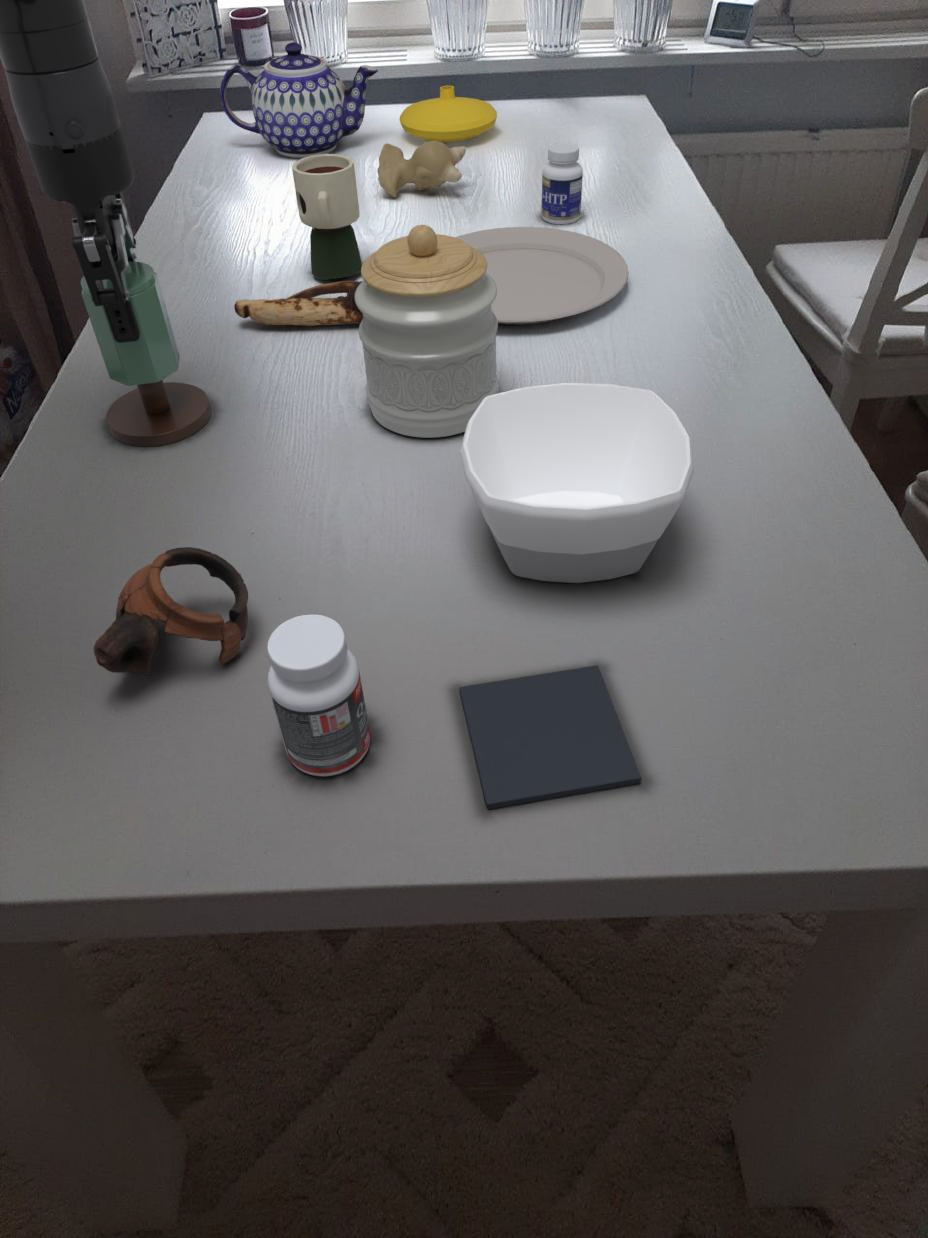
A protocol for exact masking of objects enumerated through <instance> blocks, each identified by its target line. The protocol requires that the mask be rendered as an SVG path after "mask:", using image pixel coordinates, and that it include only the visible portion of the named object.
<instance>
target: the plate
mask: <svg viewBox="0 0 928 1238" xmlns="http://www.w3.org/2000/svg"><path fill="white" fill-rule="evenodd" d="M455 238H458V239H460V240H462V241H464V242H465V243H466V244H468V245H469V246H471V247H473V248H475V249H477V250H478V251H480V252H481V253H482V254H483V255H484V256H485V258H486V260H487V270H486V273H487V274H489V275H490V276H491V277H492V278H493V280H494V281H495V283H496V286H497V295H496V298H495V300H494V302H493V303H492V304H491V306H492V312H493V313H494V314H495V316H496V318H497V321H498V325H517V326H518V325H532V324H533V325H534V324H541V323H547V322H553V321H557V320H561V319H565V318H567V317H570V316H575V315H578V314H581V313H584V312H588V311H590V310H593V309H595V308H598V307H600V306H602V305H603V304H605V303H607V302H608V301H610V300H611V299H613V298H615V297H616V296H617V295H618V294H619V293H620V292H621V291H622V290H623V289H624V287H625V286H626V284H627V281H628V279H629V267H628V264H627V262H626V259H625V258H624V257H623V256H622V254H621V253H620V252H618V250H616V249H615V248H614V247H612V246H611V245H609V244H607V243H606V242H603V241H602V240H599V239H597V238H595V237H592V236H589V235H587V234H583V233H579V232H576V231H571V230H567V229H559V228H551V227H541V226H508V227H499V228H498V227H497V228H490V229H483V230H477V231H472V232H469V233H465V234H462V235H458V236H455Z"/></svg>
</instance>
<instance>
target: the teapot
mask: <svg viewBox="0 0 928 1238" xmlns="http://www.w3.org/2000/svg"><path fill="white" fill-rule="evenodd" d="M302 49H303V46H302V45H301V44H300V43H298V42H295V41H294V42H289V43H287V44H286V45H285V46H284V51H285V52H286V54H284V55H281V56H278V57H274V58H272V59H271V60H269V61H267V62H266V63H265V64H264V65H263V70H262V71H261V72H260V74H259V75H257V76H255V75H254V74H253V73H251V72H250V71H248V69H246V68H245V67H243V66H241V65H240V64H234V65H231V66H230V67H229V68H228V69H227V70H226V71H225V73H224V75H223V77H222V80H221V82H220V87H219V95H220V96H219V98H220V103H221V106H222V109H223V111H224V113H225V115H226V116H227V118H228V119H229V120H230V121H231V122H232V123H233V124H234V125H236V126H237V127H239V128H241V129H242V130H246V131H249V132H251V133H255V134H258V135H260V136H261V137H262V139H263V140H265V141H266V142H267V143H268V144H269V145H270V146H272V147H273V148H274V149H275V151H276V152H277V153H278V154H279V155H280V156H283V157H287V158H295V159H302V158H305V157H309V156H313V155H320V154H330V153H331V152H333V151H335V149H336V148H337V143H339V142H340V141H341V140H342V139H343V138H344V137H348V136H351V135H354V134H355V133H356V132H357V131H359V129H360V127H361V126H362V124H363V122H364V117H365V111H366V96H367V95H366V93H367V85H368V81H369V79H370V78H371V77H373V76H374V75H375V74H376V73H378V72H379V70H378V69H377V68H375V66H371V65H367V64H363V65H360V66H359V68H358V69H357V71H356V73H355V75H354V77H353V82H352V85H351V87H350V88H348V89H346V86H345V84H344V82H343V80H342V78H341V77H340V76H339V75H338V73H336V72H335V71H334V70H332V69H331V68H330V67H329V66H328V62H327V60H326V59H325V58H323V57H320V56H317V55H311V54H305V53H302ZM234 74H239V75H241V76H242V77H243V78H244V81H245V82H246V84H247V87H248V89H249V91H250V93H251V105H252V113H253V119H254V122H247V121H244V120H242V119H241V118H239V117H238V116H237V115H236V114H235V113H234V112H233V111H232V109H231V108H230V106H229V103H228V99H227V88H228V85H229V83H230V80H231V78H232V77H233V76H234Z"/></svg>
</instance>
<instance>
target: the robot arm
mask: <svg viewBox="0 0 928 1238" xmlns="http://www.w3.org/2000/svg"><path fill="white" fill-rule="evenodd" d="M87 11H88V10H87V8H86V4H85V0H0V60H1V64H2V66H3V68H4V74H5V77H6V80H7V86H8V90H9V95H10V99H11V103H12V106H13V110H14V113H15V116H16V117H17V118H16V119H17V121H18V124H19V128H20V130H21V133H22V136H23V139H24V142H25V145H26V147H27V151H28V154H29V157H30V159H31V163H32V165H33V168H34V171H35V175H36V177H37V181H38V183H39V186H40V189H41V191H42V193H43V194H44V195H45V196H46V197H48V198H50V199H51V200H54V201H58V202H63V201H64V202H66V203H68V204H70V205H72V206H73V208H74V214H75V218H72V219H71V225H72V229H73V234H74V236H72V243H71V244H72V249H74V252H75V254H76V257H77V260H78V263H79V265H80V268H81V272H82V273H83V276H84V277H85V279H86V282H87V285H88V288H89V291H90V293H91V296H92V301H93V302H94V304H95V306H102V305H103V306H104V309H105V312H106V315H107V318H108V321H109V324H110V328H111V331H112V334H113V337H114V339H115V341H116V342H119V343H124V342H132V341H137V340H138V339H139V336H140V331H139V328H138V324H137V321H136V318H135V315H134V311H133V308H132V305H131V301H130V298H129V296H130V292H129V290H128V287H127V283H126V278H125V273H126V272H128V270H129V263H128V261H135V262H137V260H138V256H137V252H135V250H134V249H136V248H137V240H136V238H135V236H134V232H133V229H132V225H131V221H130V217H129V214H128V209H127V206H126V202H125V198H124V194H123V192H125V191H126V190H127V189H128V188H130V187H131V186H132V185H133V183H134V181H135V170H134V167H133V164H132V160H131V157H130V152H129V149H128V146H127V141H126V137H125V134H124V131H123V125H122V124H121V123H122V122H121V120H120V115H119V112H118V108H117V105H116V101H115V97H114V93H113V90H112V88H111V85H110V81H109V79H108V77H107V74H106V73H105V69H104V66H103V64H102V61H101V58H100V56H99V50H98V47H97V43H96V40H95V35H94V32H93V29H92V25H91V22H90V18H89V15H88V12H87ZM107 279H108V280H110V281H111V282H112V285H113V288H106V289H104V286H103V281H102V280H107Z"/></svg>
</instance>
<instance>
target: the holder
mask: <svg viewBox="0 0 928 1238" xmlns="http://www.w3.org/2000/svg"><path fill="white" fill-rule="evenodd" d="M136 386H137V388H135V389H133V390H130V391H128V392H127V393H124V394H123V395H120V397H118V398H117V399H116V400H114V401H113V403H111V405H110V406H109V407H108V409H107V411H106V414H105V421H106V424H107V427H108V430H109V433H110V434H111V436H112V437H113V438H114V439H116V440H117V441H118V442H121V443H122V444H125V445H128V446H134V447H143V448H144V447H160V446H164V445H170V444H173V443H176V442H180V441H182V440H184V439H187V438H188V437H189V438H190V437H191V436H192V435H194V434H196V433H197V432H199V431H200V430H201V429H203V428H204V427H205V425H206V424H207V423H208V422H209V421H210V419H211V418H210V417H211V415H212V408H211V407H212V406H211V403H210V399H209V397H208V395H207V393H206V392H205V391H204V390H203V389H201V388H200V387H198V386H196V385H193V384H190V383H185V382H175V381H170V382H169V381H167V382H164V381H163V379H162V380H160V381H159V382H156V383H149V384H140V385H136Z"/></svg>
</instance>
